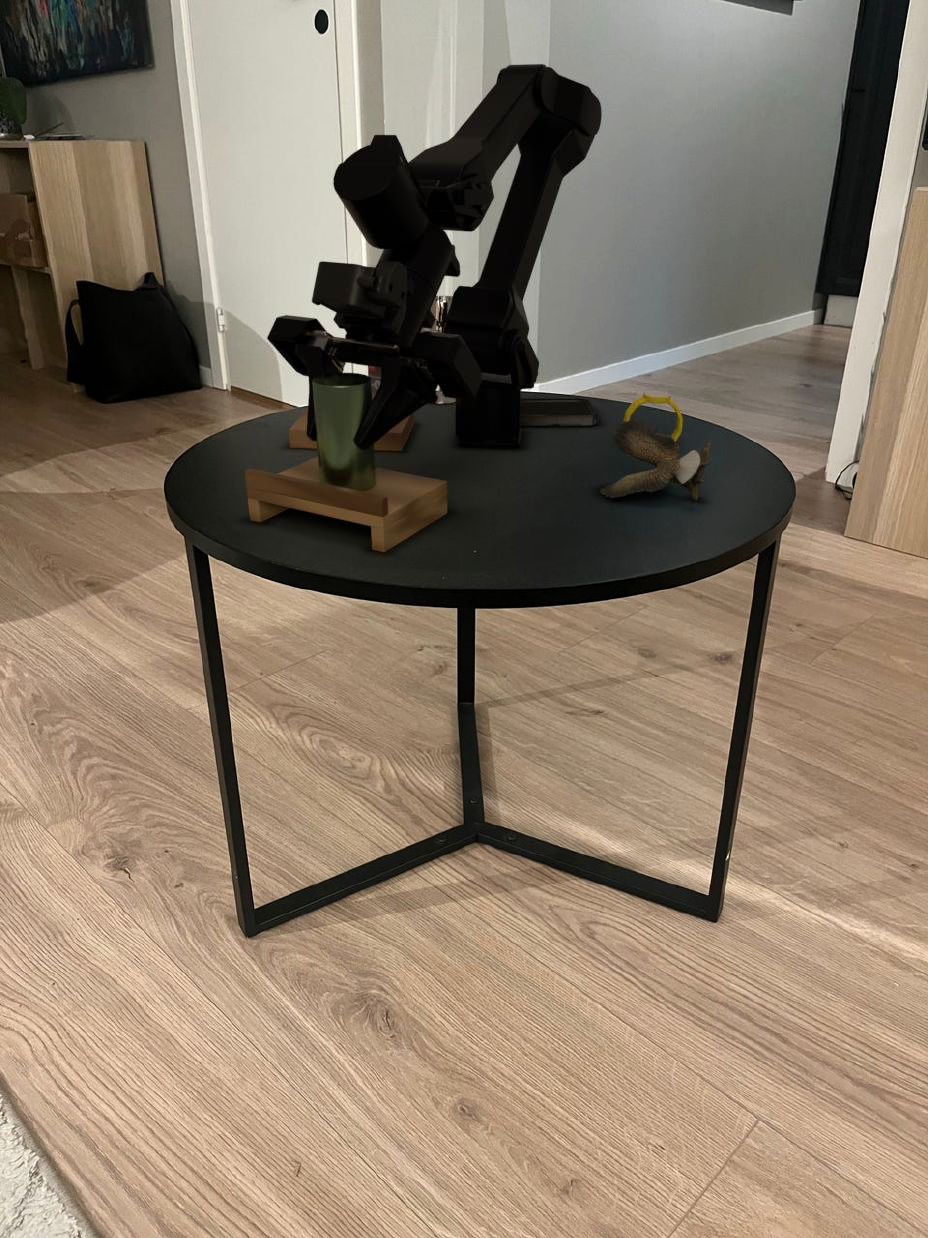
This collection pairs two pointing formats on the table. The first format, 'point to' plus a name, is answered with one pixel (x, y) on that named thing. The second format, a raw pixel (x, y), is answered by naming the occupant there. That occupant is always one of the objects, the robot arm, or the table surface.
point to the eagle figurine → (656, 461)
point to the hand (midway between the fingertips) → (335, 443)
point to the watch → (657, 398)
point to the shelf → (351, 500)
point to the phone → (557, 412)
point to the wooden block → (388, 442)
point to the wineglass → (440, 312)
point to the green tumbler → (343, 430)
